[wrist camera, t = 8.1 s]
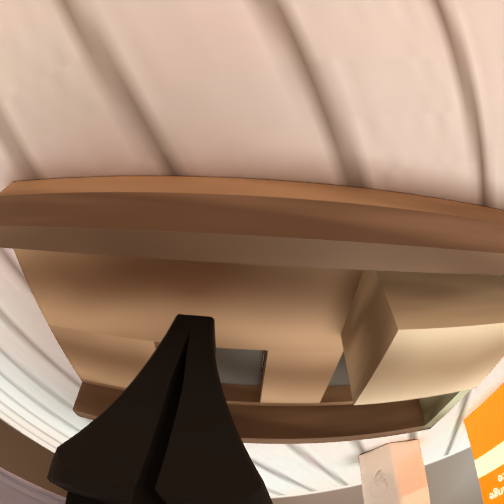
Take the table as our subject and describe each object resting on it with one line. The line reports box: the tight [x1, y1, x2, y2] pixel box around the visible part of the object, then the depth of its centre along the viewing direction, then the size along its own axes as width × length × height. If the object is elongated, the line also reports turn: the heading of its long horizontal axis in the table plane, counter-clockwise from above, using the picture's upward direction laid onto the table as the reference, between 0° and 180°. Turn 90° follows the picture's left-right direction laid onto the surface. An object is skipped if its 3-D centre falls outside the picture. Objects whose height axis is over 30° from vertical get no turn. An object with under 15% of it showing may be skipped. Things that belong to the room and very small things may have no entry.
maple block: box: [341, 270, 504, 405], centre depth 12 cm, size 5×7×4 cm
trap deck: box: [0, 176, 504, 444], centre depth 15 cm, size 16×26×4 cm, turn 87°
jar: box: [359, 440, 430, 504], centre depth 27 cm, size 9×8×12 cm
